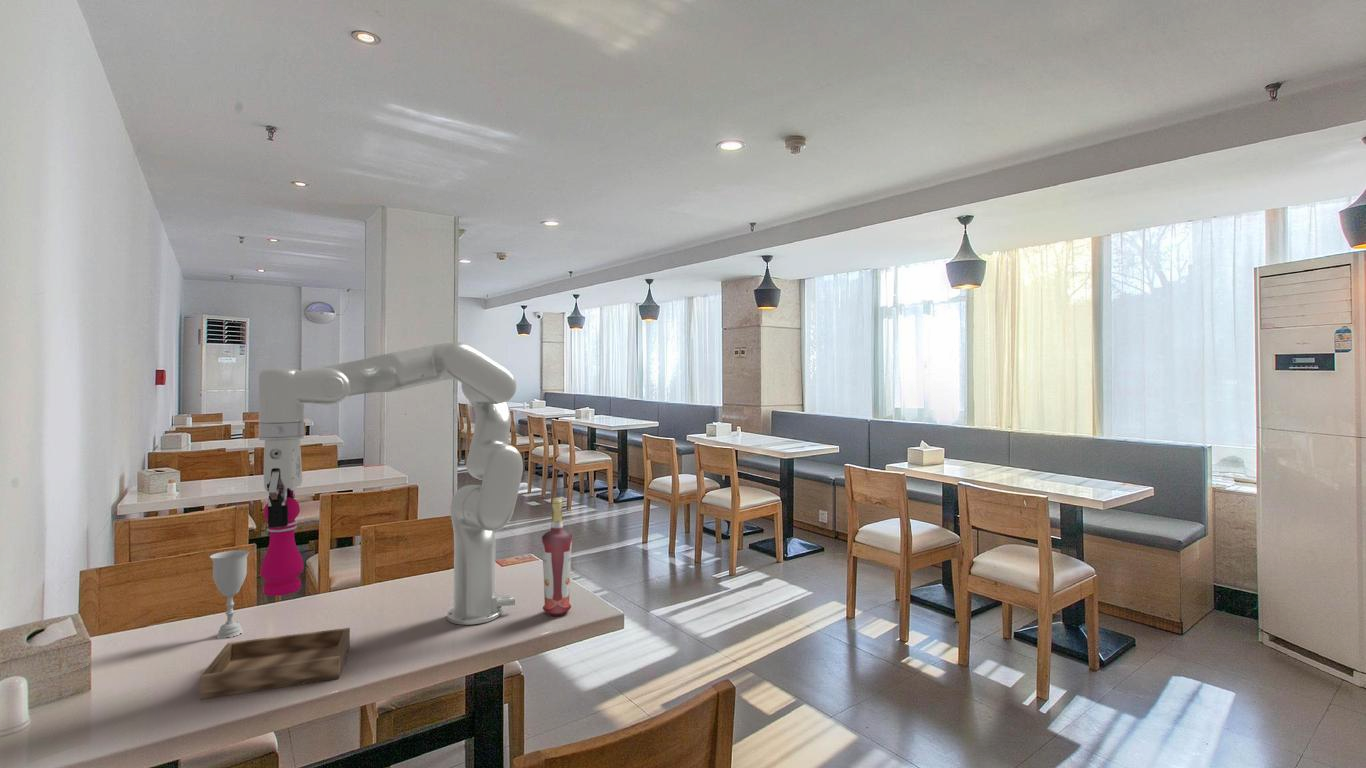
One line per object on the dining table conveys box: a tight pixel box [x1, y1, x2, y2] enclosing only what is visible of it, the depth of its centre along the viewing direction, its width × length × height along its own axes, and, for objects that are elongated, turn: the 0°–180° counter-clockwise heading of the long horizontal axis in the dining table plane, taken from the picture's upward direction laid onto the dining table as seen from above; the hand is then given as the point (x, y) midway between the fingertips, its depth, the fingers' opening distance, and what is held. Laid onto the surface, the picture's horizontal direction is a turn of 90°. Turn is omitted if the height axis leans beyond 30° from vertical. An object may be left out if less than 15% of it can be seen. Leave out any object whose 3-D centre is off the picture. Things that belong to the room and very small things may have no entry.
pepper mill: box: [259, 493, 305, 597], centre depth 125 cm, size 7×7×20 cm
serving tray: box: [199, 627, 351, 700], centre depth 125 cm, size 22×16×4 cm
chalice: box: [209, 549, 250, 639], centre depth 143 cm, size 7×7×18 cm
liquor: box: [541, 497, 573, 617], centre depth 156 cm, size 7×7×28 cm
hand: (282, 522), depth 125 cm, fingers closed on pepper mill, 5 cm apart
